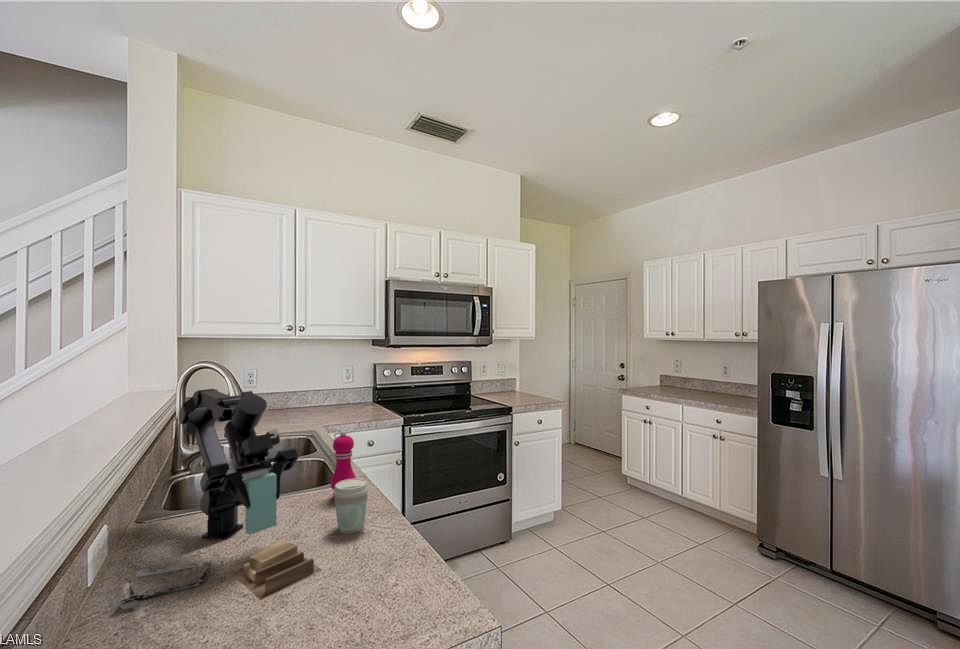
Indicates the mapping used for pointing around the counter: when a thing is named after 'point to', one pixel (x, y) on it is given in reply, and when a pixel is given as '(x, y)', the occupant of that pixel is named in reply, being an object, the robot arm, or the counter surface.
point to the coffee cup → (351, 505)
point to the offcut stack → (269, 557)
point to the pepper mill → (342, 459)
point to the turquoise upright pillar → (261, 503)
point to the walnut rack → (279, 575)
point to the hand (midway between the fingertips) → (264, 502)
